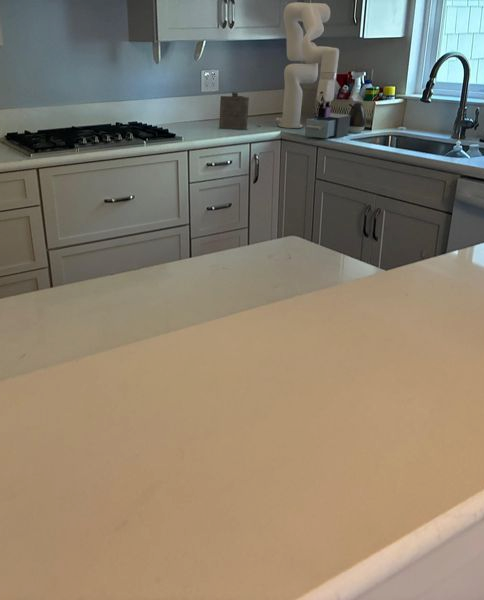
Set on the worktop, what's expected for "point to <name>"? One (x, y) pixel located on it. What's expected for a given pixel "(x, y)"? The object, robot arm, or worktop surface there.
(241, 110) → the flask
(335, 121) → the sliding drawer
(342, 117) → the grey drawer box
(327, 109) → the purple cube
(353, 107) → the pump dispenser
